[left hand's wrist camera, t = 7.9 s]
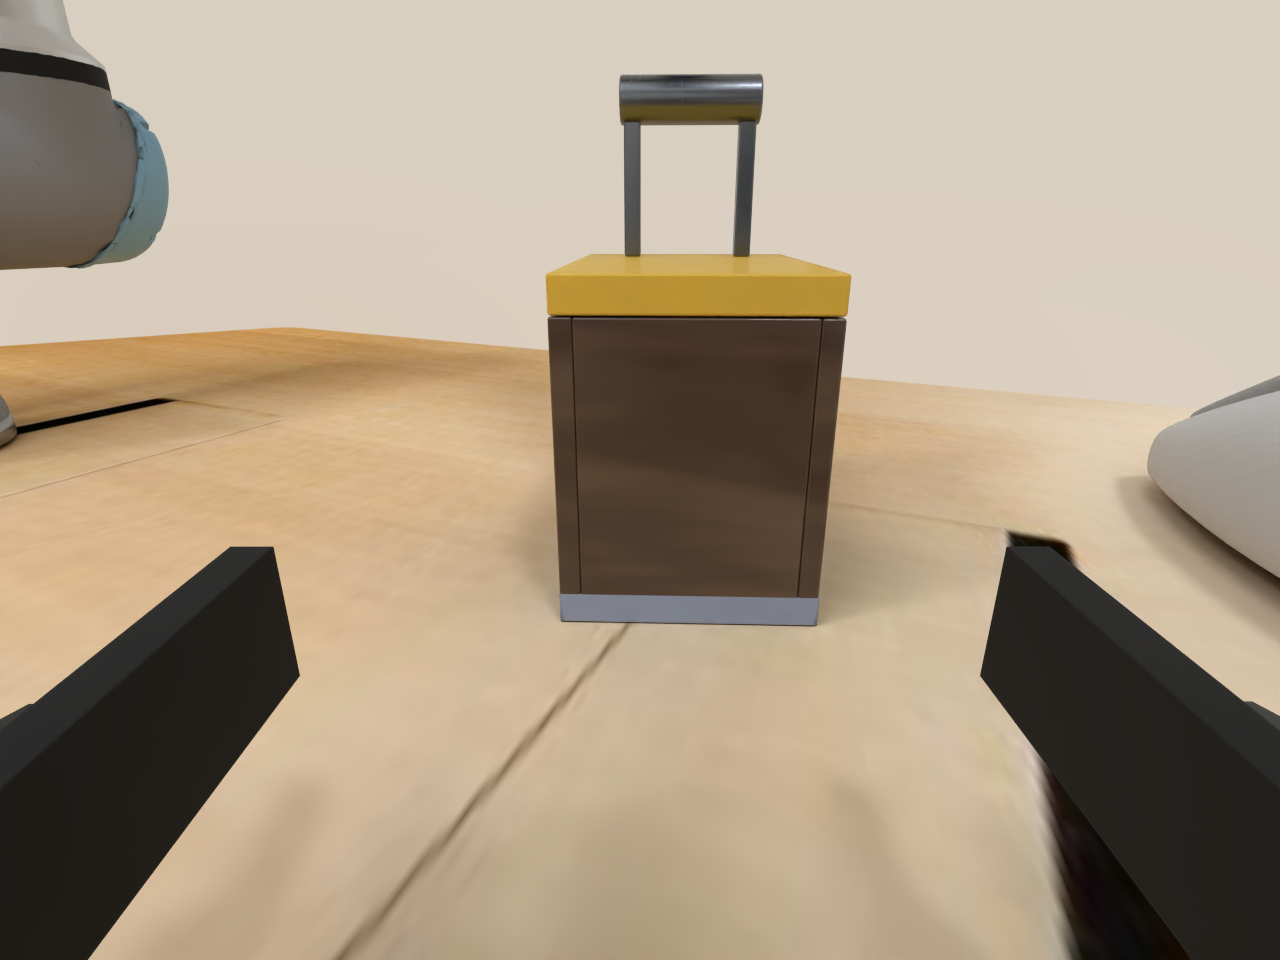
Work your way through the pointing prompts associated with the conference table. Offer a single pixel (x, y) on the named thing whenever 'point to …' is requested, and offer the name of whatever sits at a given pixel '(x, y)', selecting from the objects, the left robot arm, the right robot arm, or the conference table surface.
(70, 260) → the right robot arm
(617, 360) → the chest
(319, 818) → the conference table surface
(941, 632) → the conference table surface
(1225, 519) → the projector
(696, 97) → the lid
